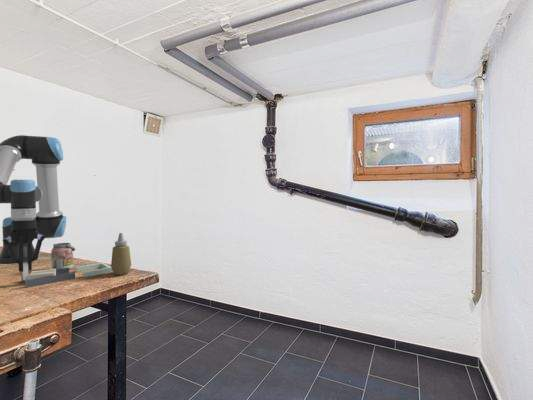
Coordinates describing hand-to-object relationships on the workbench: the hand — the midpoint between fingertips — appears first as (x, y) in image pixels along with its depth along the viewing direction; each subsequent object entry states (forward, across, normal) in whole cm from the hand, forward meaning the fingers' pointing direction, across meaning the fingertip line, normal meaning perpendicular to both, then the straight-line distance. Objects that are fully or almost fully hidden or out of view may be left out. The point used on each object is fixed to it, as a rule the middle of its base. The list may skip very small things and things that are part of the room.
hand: (25, 279), depth 113 cm
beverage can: (+2, +15, +14) cm, 21 cm away
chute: (+2, +7, 0) cm, 8 cm away
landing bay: (+2, +23, 0) cm, 23 cm away
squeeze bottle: (+2, +31, -12) cm, 34 cm away
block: (+2, +5, 0) cm, 6 cm away
